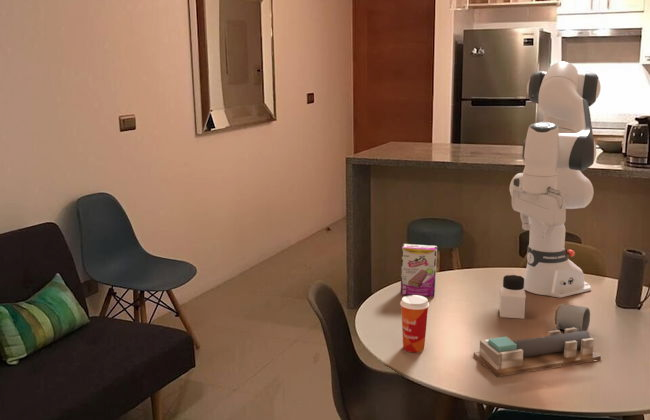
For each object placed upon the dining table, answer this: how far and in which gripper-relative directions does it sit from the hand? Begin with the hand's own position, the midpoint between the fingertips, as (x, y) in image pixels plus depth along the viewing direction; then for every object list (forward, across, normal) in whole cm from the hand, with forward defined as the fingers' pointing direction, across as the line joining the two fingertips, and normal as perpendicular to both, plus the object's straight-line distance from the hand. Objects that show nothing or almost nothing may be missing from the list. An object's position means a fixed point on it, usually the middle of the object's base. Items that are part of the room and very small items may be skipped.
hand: (536, 234), depth 183 cm
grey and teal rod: (+28, -14, +6) cm, 32 cm away
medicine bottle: (+29, +14, -3) cm, 33 cm away
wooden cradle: (+29, -14, +7) cm, 33 cm away
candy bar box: (+29, +38, +17) cm, 51 cm away
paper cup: (+29, +1, +35) cm, 46 cm away
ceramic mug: (+29, -3, -12) cm, 32 cm away
